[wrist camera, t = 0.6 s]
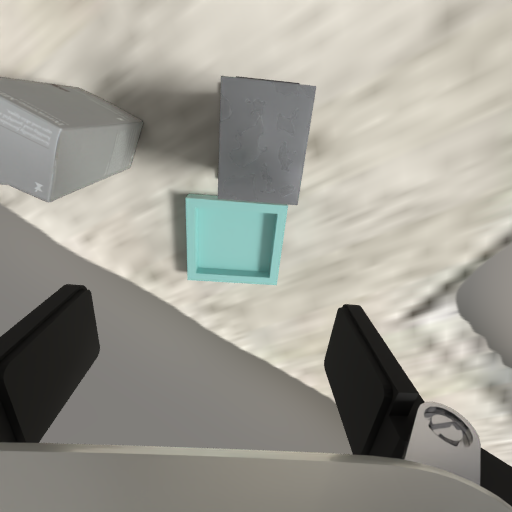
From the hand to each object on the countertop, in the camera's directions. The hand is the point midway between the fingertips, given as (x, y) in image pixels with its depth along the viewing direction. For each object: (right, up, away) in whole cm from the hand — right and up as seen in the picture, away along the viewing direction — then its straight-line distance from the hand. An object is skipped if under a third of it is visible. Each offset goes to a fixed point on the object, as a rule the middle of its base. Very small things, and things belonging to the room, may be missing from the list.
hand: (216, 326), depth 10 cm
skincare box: (-17, +18, +23) cm, 34 cm away
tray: (-2, +5, +30) cm, 30 cm away
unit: (+2, +18, +24) cm, 30 cm away
